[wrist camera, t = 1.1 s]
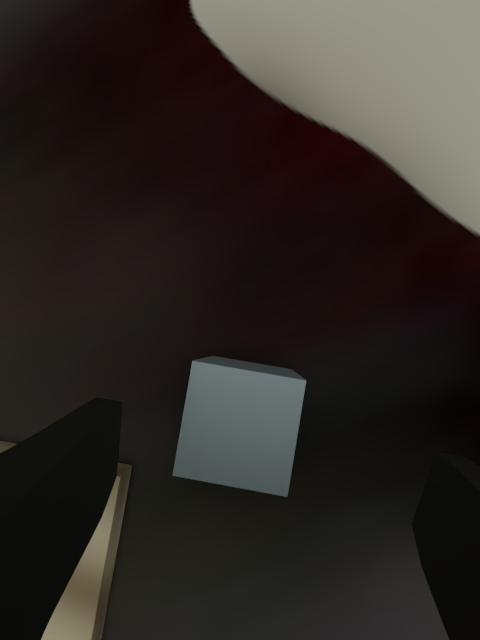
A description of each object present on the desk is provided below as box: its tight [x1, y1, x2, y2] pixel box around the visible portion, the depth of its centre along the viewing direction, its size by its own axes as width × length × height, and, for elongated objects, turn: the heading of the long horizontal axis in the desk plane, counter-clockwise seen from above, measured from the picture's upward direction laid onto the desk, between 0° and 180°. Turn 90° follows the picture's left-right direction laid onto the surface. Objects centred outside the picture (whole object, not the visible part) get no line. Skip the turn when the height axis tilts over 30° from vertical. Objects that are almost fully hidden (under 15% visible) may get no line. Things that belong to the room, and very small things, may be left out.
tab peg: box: [172, 356, 306, 497], centre depth 19 cm, size 4×4×7 cm
